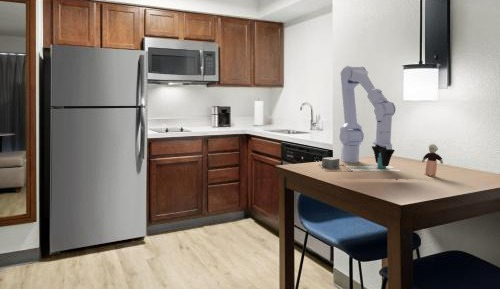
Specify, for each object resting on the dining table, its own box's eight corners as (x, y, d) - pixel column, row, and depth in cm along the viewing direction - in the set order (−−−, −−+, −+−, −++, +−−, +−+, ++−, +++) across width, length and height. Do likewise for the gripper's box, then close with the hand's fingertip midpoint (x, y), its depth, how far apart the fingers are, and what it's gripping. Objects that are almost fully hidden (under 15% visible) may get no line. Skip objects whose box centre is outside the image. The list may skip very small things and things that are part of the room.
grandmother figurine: (420, 176, 152) (422, 143, 151) (421, 174, 156) (423, 142, 154) (442, 178, 149) (444, 145, 147) (442, 176, 152) (444, 144, 150)
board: (318, 167, 168) (318, 164, 168) (389, 168, 169) (389, 164, 169) (325, 174, 154) (325, 170, 154) (402, 174, 155) (403, 171, 155)
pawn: (376, 167, 163) (376, 151, 162) (384, 167, 163) (384, 151, 162) (379, 169, 160) (379, 152, 159) (387, 169, 160) (387, 152, 159)
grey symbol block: (321, 169, 164) (322, 158, 164) (330, 168, 167) (330, 157, 166) (330, 171, 160) (330, 159, 159) (339, 170, 163) (339, 158, 162)
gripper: (368, 130, 167) (366, 161, 168) (380, 133, 152) (378, 167, 154) (384, 130, 167) (382, 161, 169) (398, 133, 153) (396, 167, 154)
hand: (381, 164), depth 161 cm, fingers open, 7 cm apart
